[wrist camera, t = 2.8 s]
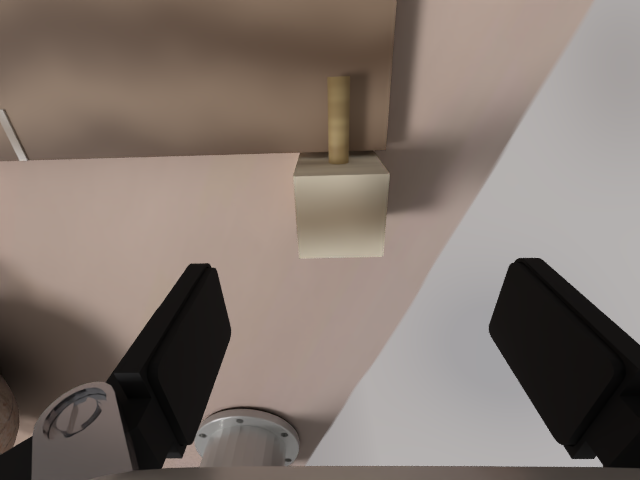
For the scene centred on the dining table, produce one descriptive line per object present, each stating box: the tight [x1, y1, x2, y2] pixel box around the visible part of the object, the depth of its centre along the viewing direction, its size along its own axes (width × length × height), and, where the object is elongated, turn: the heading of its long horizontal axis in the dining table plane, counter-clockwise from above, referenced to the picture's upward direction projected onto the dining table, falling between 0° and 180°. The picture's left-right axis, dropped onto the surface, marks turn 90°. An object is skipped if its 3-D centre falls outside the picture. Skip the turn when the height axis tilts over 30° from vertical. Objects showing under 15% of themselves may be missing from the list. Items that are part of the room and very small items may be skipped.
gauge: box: [293, 76, 390, 259], centre depth 18 cm, size 10×5×6 cm, turn 2°
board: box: [0, 0, 397, 161], centre depth 17 cm, size 12×28×2 cm, turn 92°
